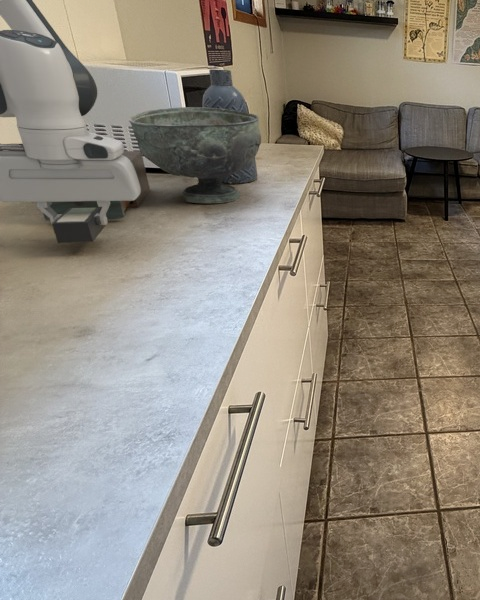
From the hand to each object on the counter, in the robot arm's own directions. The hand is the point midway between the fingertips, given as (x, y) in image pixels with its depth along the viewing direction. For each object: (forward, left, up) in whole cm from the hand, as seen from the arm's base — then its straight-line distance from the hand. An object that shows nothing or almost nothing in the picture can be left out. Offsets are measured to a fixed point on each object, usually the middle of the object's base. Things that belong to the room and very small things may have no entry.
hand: (81, 224), depth 84 cm
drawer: (-4, +21, -3) cm, 21 cm away
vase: (+23, +50, -4) cm, 56 cm away
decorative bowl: (+18, +31, -4) cm, 36 cm away
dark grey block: (0, 0, -2) cm, 2 cm away
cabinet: (-4, +32, -4) cm, 33 cm away
